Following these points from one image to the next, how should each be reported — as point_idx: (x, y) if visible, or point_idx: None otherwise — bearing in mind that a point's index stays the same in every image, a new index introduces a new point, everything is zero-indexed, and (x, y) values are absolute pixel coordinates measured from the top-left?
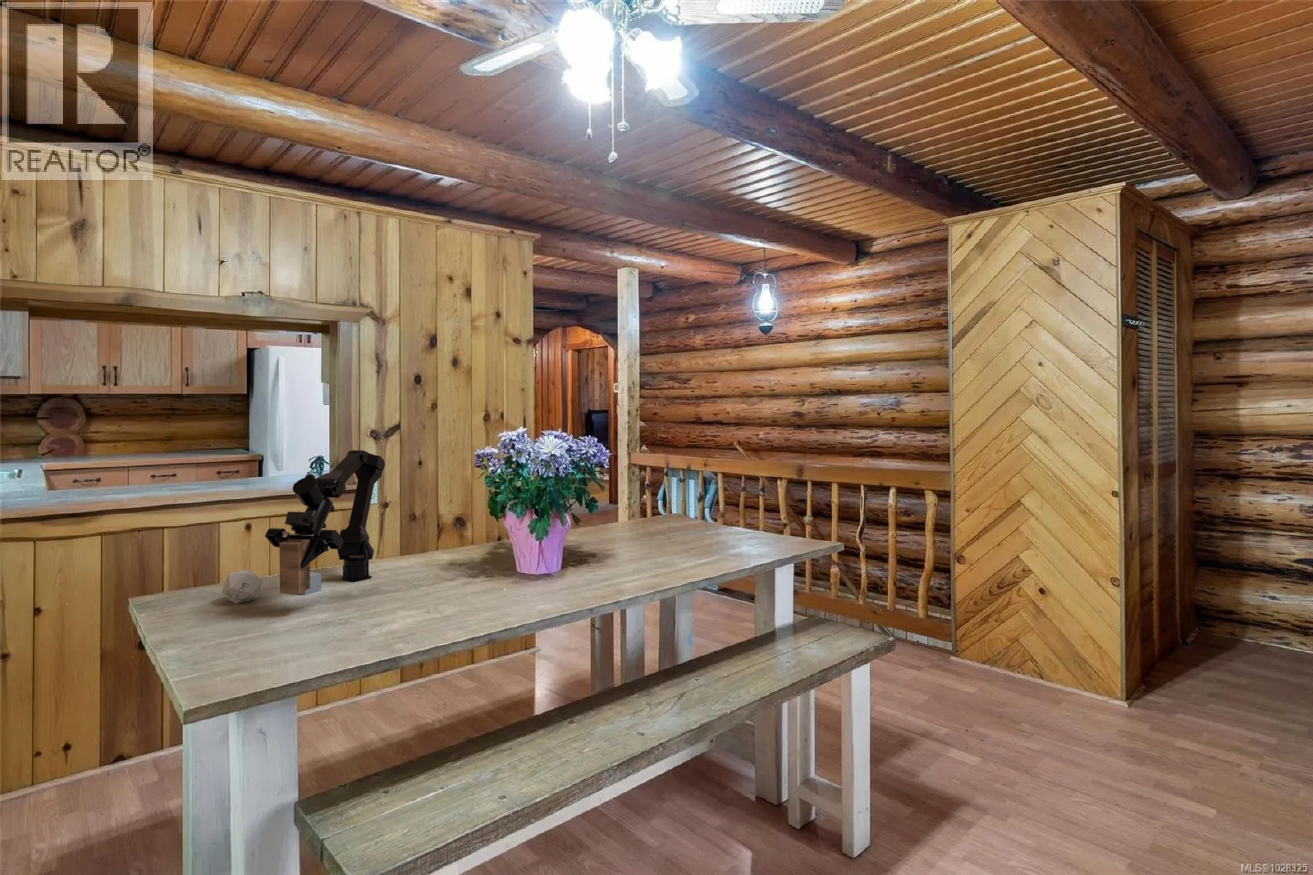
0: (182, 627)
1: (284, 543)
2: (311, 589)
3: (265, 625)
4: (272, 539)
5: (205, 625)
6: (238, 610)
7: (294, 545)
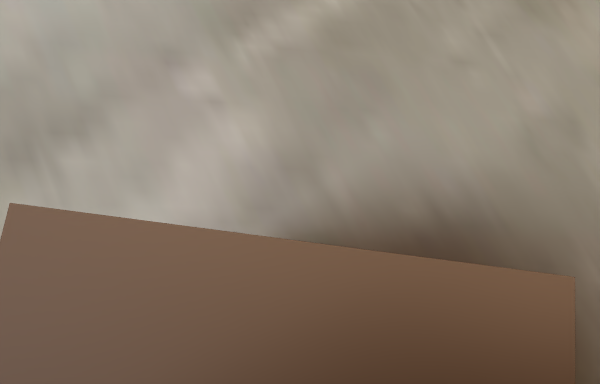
0: (597, 121)
1: (442, 269)
2: None
3: (297, 128)
4: None
5: (532, 139)
6: None
7: (147, 227)
